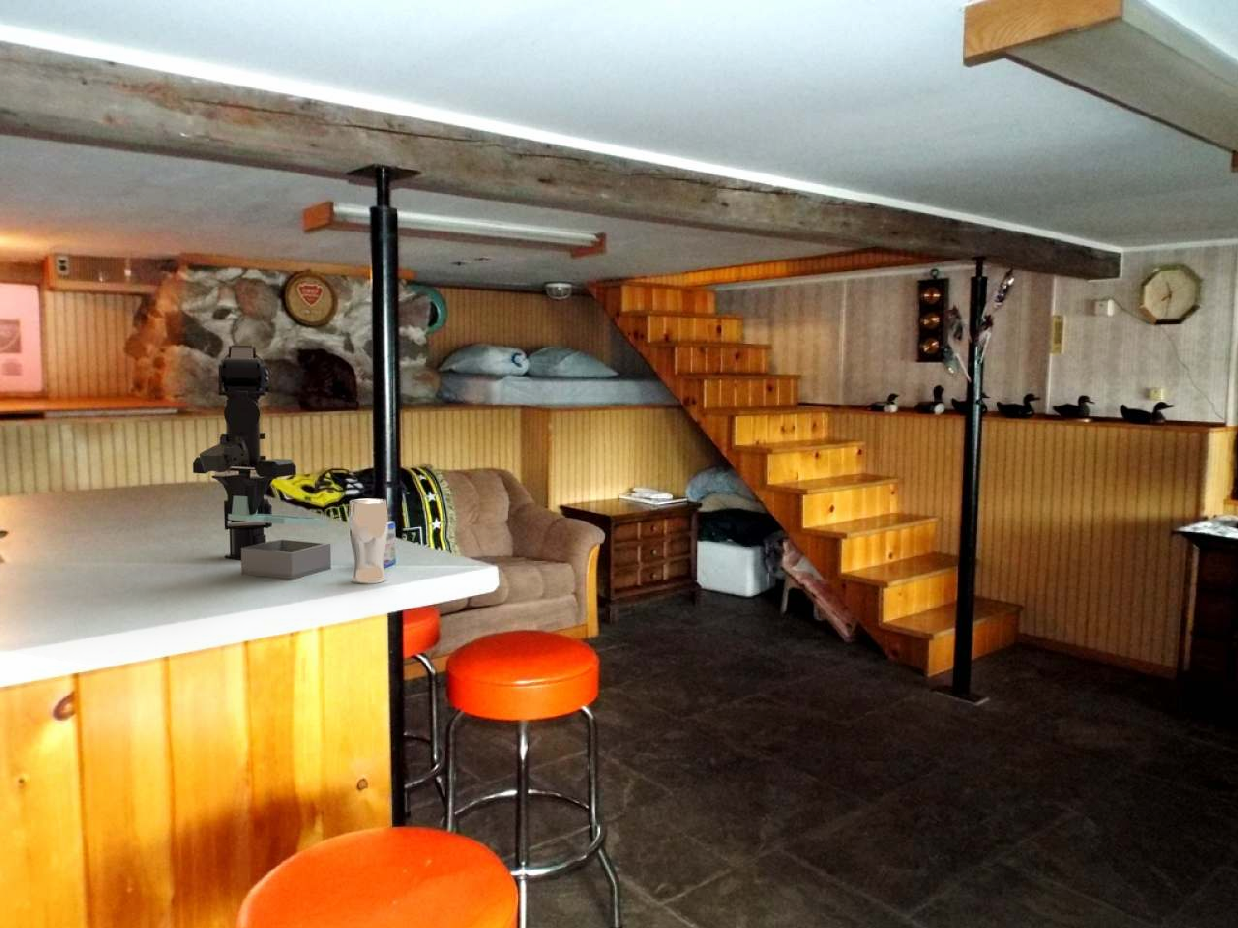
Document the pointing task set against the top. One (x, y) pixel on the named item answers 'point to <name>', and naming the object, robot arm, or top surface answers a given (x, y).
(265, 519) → the lid
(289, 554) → the tub
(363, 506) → the beer glass
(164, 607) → the top surface
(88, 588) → the top surface
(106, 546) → the top surface
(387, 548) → the medicine box
